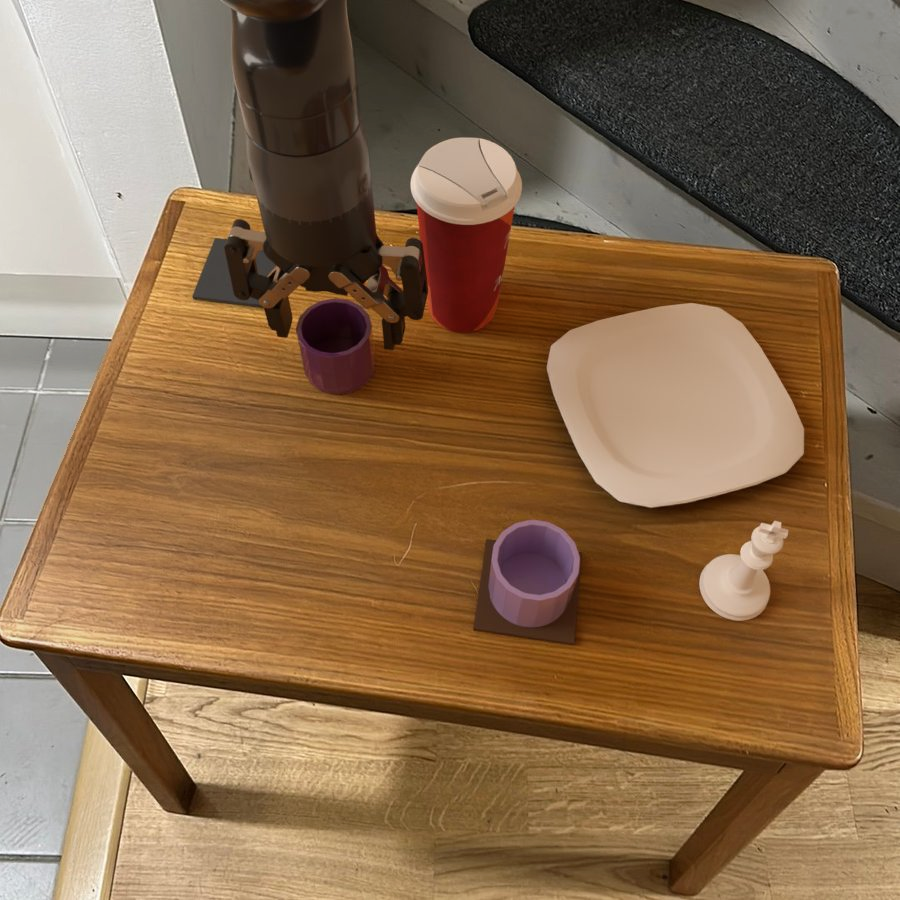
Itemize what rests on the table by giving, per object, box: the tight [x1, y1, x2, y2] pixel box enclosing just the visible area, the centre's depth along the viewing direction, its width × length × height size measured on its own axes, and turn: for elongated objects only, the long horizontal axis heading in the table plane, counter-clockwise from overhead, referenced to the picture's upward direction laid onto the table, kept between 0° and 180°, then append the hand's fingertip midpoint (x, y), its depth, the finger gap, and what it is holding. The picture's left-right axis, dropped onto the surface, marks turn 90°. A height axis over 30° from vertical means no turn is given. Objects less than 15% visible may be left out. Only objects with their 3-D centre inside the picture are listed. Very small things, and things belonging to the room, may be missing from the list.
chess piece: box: [698, 520, 789, 622], centre depth 62 cm, size 5×5×10 cm
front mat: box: [472, 538, 583, 646], centre depth 66 cm, size 7×7×1 cm
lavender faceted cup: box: [489, 519, 580, 627], centre depth 63 cm, size 6×6×5 cm
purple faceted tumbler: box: [295, 297, 376, 395], centre depth 74 cm, size 6×6×5 cm
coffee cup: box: [410, 137, 523, 333], centre depth 73 cm, size 8×8×15 cm
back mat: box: [191, 237, 276, 309], centre depth 81 cm, size 7×7×1 cm
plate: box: [546, 302, 805, 509], centre depth 73 cm, size 18×18×2 cm
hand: (338, 335), depth 73 cm, fingers open, 8 cm apart
